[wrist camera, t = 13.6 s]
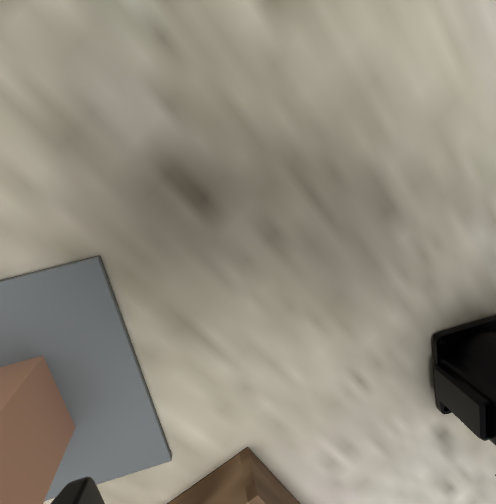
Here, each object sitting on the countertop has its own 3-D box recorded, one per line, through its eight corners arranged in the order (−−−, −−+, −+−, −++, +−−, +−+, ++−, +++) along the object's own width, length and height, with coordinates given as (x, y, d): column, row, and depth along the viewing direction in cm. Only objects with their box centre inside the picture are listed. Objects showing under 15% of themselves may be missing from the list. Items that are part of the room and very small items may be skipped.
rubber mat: (99, 255, 18) (97, 257, 18) (171, 455, 22) (171, 460, 22) (-186, 326, 17) (-195, 330, 17) (-55, 527, 21) (-59, 533, 20)
